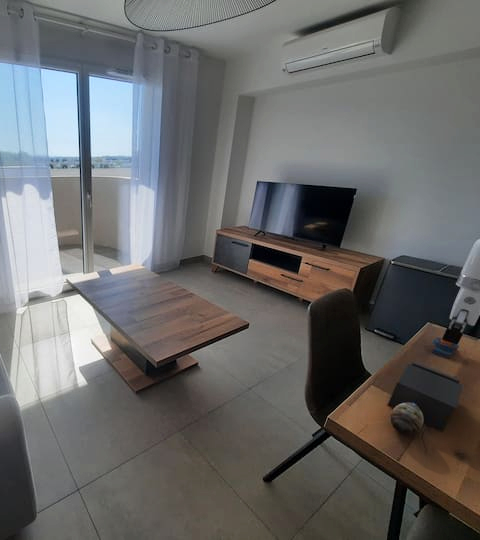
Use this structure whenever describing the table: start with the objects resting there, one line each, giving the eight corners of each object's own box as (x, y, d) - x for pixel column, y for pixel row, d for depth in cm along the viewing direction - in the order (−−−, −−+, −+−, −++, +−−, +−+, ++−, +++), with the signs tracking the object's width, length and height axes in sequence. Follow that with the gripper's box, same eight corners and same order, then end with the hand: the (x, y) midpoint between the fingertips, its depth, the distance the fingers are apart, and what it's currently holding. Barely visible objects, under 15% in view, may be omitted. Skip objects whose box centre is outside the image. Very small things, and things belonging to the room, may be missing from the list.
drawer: (408, 373, 93) (416, 356, 91) (452, 391, 86) (462, 373, 83) (395, 395, 85) (403, 377, 82) (443, 418, 77) (454, 398, 75)
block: (452, 360, 100) (456, 351, 99) (428, 351, 104) (432, 343, 103) (456, 349, 105) (460, 341, 104) (433, 341, 110) (437, 333, 109)
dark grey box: (398, 385, 89) (408, 363, 86) (450, 408, 81) (462, 385, 78) (387, 405, 82) (397, 382, 79) (442, 432, 74) (455, 407, 71)
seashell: (392, 413, 80) (403, 390, 77) (421, 427, 76) (433, 404, 73) (381, 430, 75) (392, 407, 72) (411, 447, 71) (423, 423, 68)
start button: (451, 347, 102) (453, 342, 101) (439, 342, 104) (441, 338, 103) (452, 343, 103) (454, 339, 103) (440, 339, 106) (442, 335, 105)
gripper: (497, 296, 72) (467, 354, 78) (501, 279, 82) (474, 331, 88) (453, 287, 78) (428, 341, 84) (462, 271, 87) (439, 321, 94)
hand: (452, 336), depth 86 cm, fingers open, 8 cm apart
